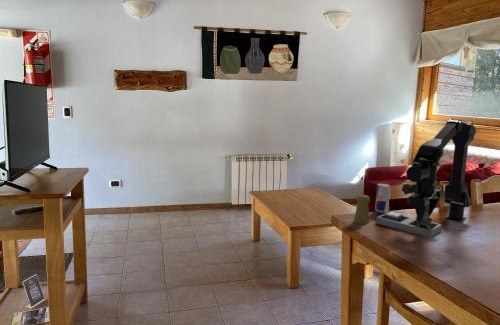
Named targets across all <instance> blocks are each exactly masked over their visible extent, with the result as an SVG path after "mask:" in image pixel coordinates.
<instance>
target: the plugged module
mask: <svg viewBox="0 0 500 325" xmlns="http://www.w3.org/2000/svg"><path fill="white" fill-rule="evenodd" d="M403 216H404V214H403V213H401V212H395V211H390V213H387V215H386V217H385V219H388V220H392V221H397V222H402V221H403Z"/></svg>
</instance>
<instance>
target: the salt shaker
mask: <svg viewBox="0 0 500 325" xmlns="http://www.w3.org/2000/svg"><path fill="white" fill-rule="evenodd" d="M429 203H430V202H428V205H429ZM429 210H430V209H429V206H428V208H427V210H426V212H425V215H424V217H423V219H422V221H418V219H417V216H415V219H416V221H417V223H418V224H419V225H417V227H421V228H425V229H429V230H430V229H431V228H430V227H429V226H428V225H430V223H431V222H433V218H431V217H429Z"/></svg>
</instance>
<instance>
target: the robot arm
mask: <svg viewBox="0 0 500 325" xmlns="http://www.w3.org/2000/svg"><path fill="white" fill-rule="evenodd" d="M476 132H477V128H476V127H475V126H474V124H473V123H464V122H463V121H460V120H453V119H452V120H450V119H449V120H447V121H446V123H445V125H444V126H443V127H442V129H440V130H439V132H438V133H437V134H436V135H435V136H434V137H433V138H432V139H430V140H427V141H425V142H423V143H422V144H421V145H420V146H419V147H418V150H417V152H416V154H415V156H414V158H413V160H412V164H411V166H410V167H408V168H407V170H406V171H405V173H406V174H405V175H406V178H407V179H408V180H409V181H411V182H412V183H409V182H408V183H403V185H402V186H401V192H403V194H404V195H408V194H412V195H410V196H408V197H407V204H409V205H411V206H413V208H414V210H415V214H416V217H417V219H418V221H422V219H423V217H424V215H425V212H426V210H427V208H428V206H429V209H430V210H429V218H431V215H432V214H433V212H434V210H435V209H436V207H437V206H438V204H439V203H440V201H441V199H443V198H444V199H443V201H444V202H443V203H445V204H446V203H447V204H449V206H448V213H447V215H445V217H444V219H448V220H450V221H456V222H462V221H465V220H466V219H467V217H466V216H464V215H465V208H470V207H471V204H472V200H471V197H470V195H469V193H468V192H469V191H468V190H469V187H468V186H467V184H466V181H465V178H466V177H465V176H466V175H465V174H466V168H467V159H468V151H469V150H468V149H469V145H471V143H472V142H473V141H474V138H475V136H476ZM450 141H452V143H453V145H454V148H453V158H452V167H451V175H450V176H451V177H450V180H449V182H448V183H446V184H445V186H444V191H443V190H442V189H438V188H436V185H439V184H438V183H439V181H438V180H437V173H438V167H439V166H440V165H441V164H440V161H441V159H442V157H443V156H444V149H445V147H446V146H447V145H448V143H450ZM413 193H414V194H413ZM428 202H430V203H429V205H428Z"/></svg>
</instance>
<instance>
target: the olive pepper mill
mask: <svg viewBox="0 0 500 325" xmlns="http://www.w3.org/2000/svg"><path fill="white" fill-rule="evenodd" d="M355 199H356V203H357V205H356V209H355V214H354V219H353V222H355V223H357V224H362V225H364V224H365V225H368V224H369V223H370V213H369V210H370V209H369V204H370V201H371V199H370V196H369V195H366V194H358V195H357V196H356V198H355Z"/></svg>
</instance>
